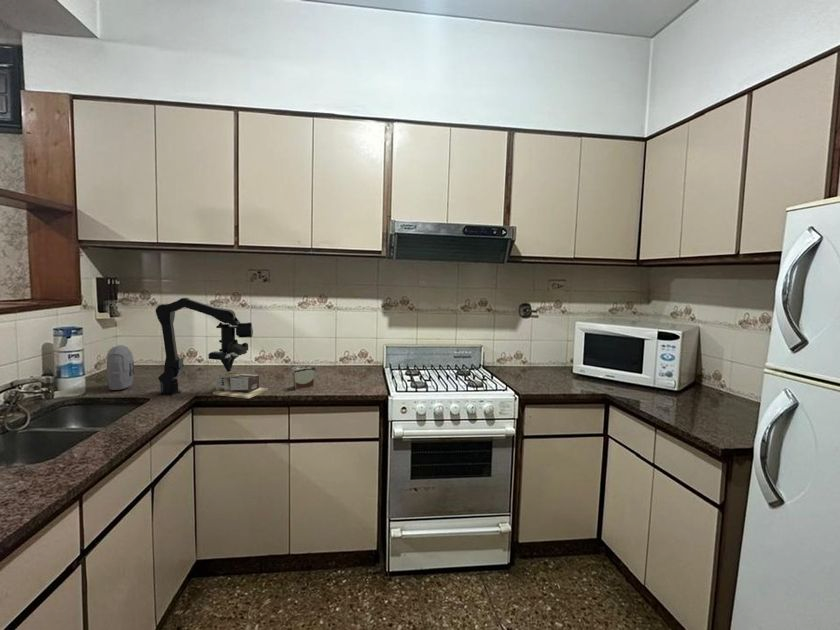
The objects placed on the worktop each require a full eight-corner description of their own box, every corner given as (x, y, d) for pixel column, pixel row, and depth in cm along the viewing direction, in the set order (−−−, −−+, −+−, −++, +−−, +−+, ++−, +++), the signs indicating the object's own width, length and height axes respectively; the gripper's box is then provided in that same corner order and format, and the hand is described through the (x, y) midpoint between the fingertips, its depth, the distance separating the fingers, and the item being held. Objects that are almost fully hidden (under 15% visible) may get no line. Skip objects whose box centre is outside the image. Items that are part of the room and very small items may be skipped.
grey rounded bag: (119, 384, 199) (118, 342, 197) (139, 383, 201) (138, 342, 199) (105, 393, 184) (103, 348, 182) (126, 392, 186) (125, 347, 185)
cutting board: (213, 394, 187) (213, 392, 187) (234, 386, 200) (234, 384, 200) (248, 398, 182) (248, 396, 182) (267, 390, 196) (267, 388, 196)
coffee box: (215, 390, 190) (248, 393, 187) (215, 376, 189) (248, 378, 186) (228, 385, 199) (259, 388, 196) (228, 372, 198) (259, 374, 195)
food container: (309, 383, 210) (309, 364, 209) (316, 386, 206) (316, 366, 205) (286, 387, 201) (286, 367, 200) (292, 390, 197) (292, 369, 196)
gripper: (228, 341, 180) (229, 377, 181) (256, 336, 198) (256, 368, 199) (207, 340, 183) (207, 375, 184) (236, 334, 201) (236, 366, 202)
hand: (228, 371), depth 192 cm, fingers closed
